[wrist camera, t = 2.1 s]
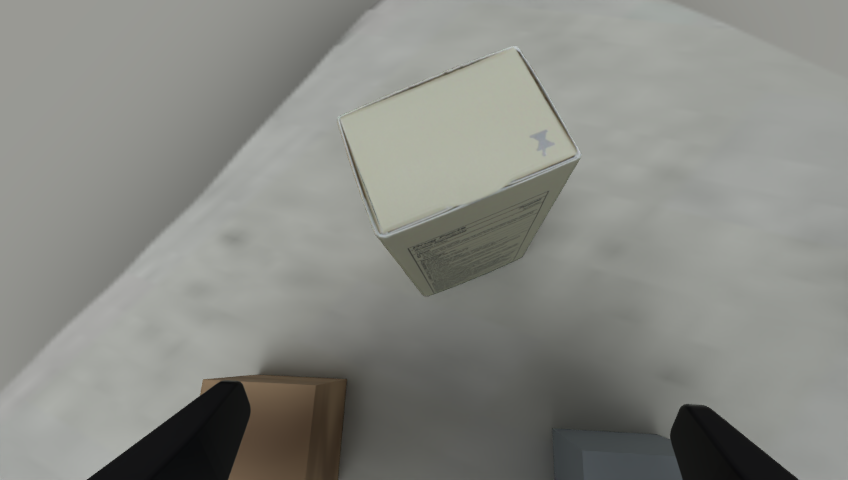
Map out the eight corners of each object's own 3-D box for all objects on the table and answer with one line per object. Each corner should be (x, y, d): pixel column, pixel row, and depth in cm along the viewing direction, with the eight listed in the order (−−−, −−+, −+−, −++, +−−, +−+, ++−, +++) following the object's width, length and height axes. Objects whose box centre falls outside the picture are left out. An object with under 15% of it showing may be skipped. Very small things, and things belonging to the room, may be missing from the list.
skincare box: (492, 193, 24) (527, 34, 12) (524, 259, 22) (598, 152, 11) (392, 233, 24) (328, 110, 12) (418, 301, 22) (375, 240, 11)
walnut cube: (338, 483, 20) (300, 523, 15) (243, 476, 21) (178, 512, 16) (347, 378, 21) (315, 385, 17) (258, 374, 22) (202, 379, 17)
